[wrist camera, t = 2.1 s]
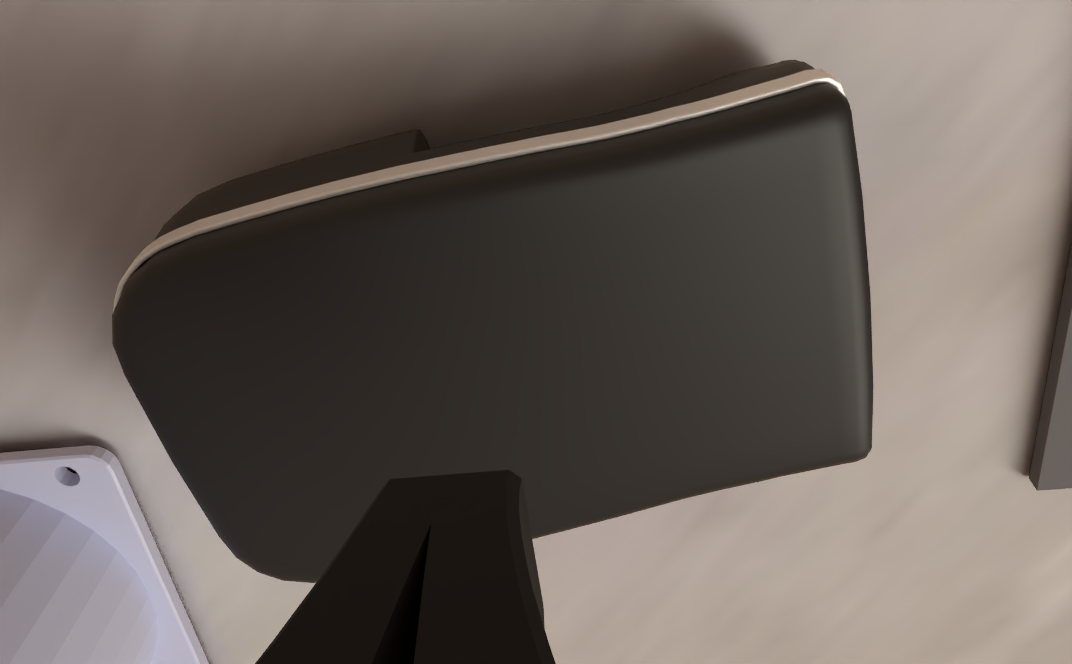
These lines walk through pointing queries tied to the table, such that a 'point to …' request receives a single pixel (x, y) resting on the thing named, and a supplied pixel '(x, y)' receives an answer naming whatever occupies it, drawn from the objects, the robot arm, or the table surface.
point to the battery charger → (515, 317)
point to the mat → (1057, 406)
